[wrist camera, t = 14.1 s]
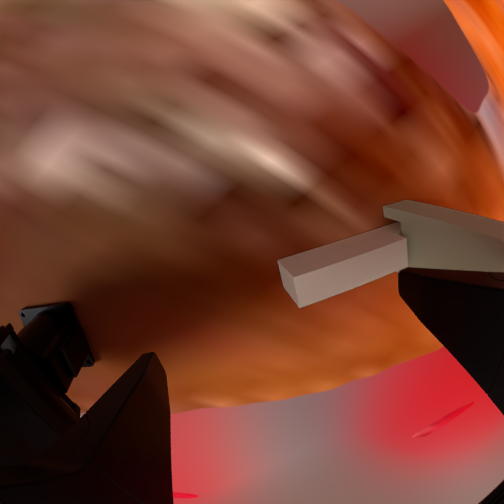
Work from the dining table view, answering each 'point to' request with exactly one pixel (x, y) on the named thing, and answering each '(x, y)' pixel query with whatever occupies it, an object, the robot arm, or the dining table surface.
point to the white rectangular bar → (343, 264)
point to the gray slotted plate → (448, 237)
